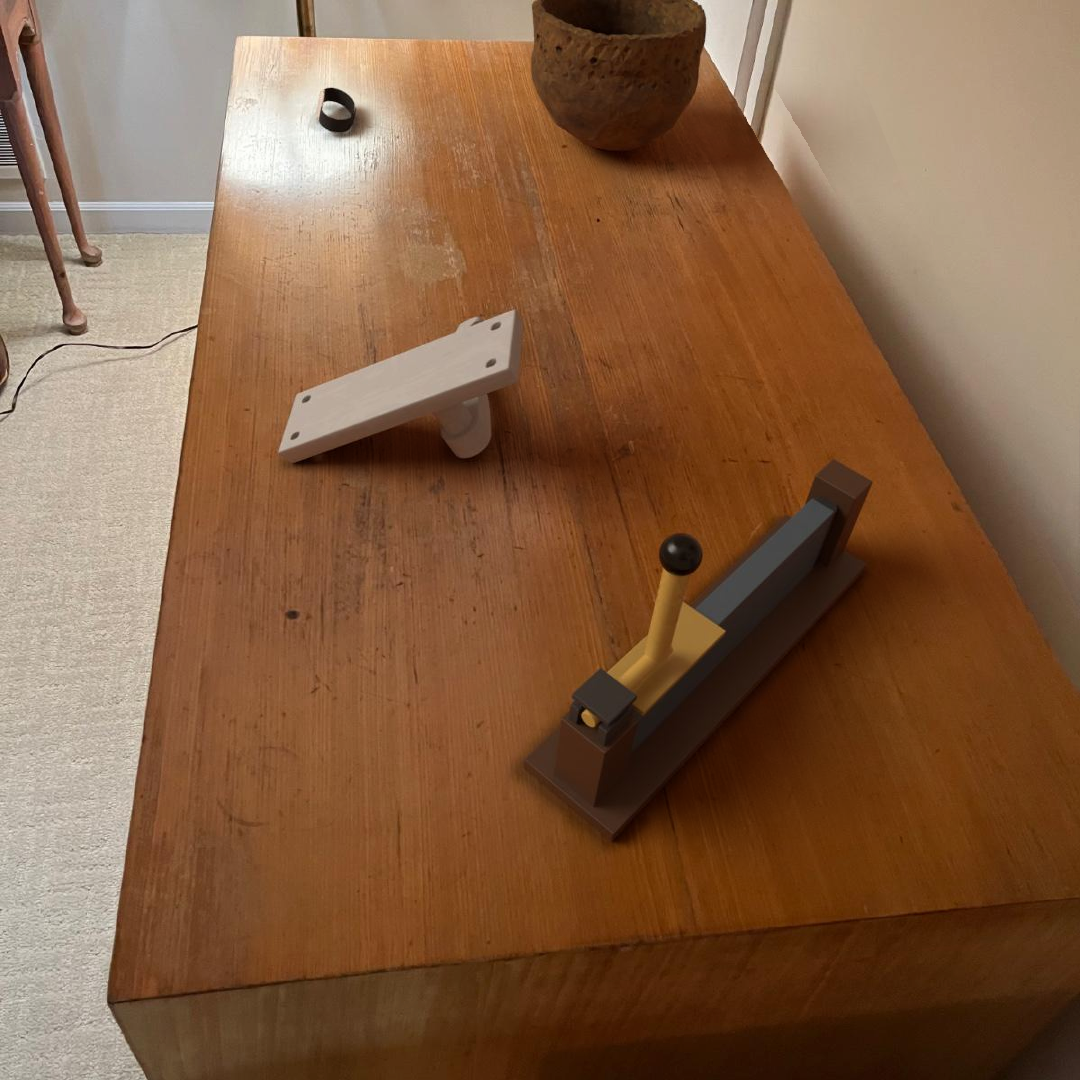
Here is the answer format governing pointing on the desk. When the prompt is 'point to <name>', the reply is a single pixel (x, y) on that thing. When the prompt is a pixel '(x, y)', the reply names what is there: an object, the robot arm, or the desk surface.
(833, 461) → the sliding lever mechanism
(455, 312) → the desk surface
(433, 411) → the handle
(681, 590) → the bolt
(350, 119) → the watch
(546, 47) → the bowl
